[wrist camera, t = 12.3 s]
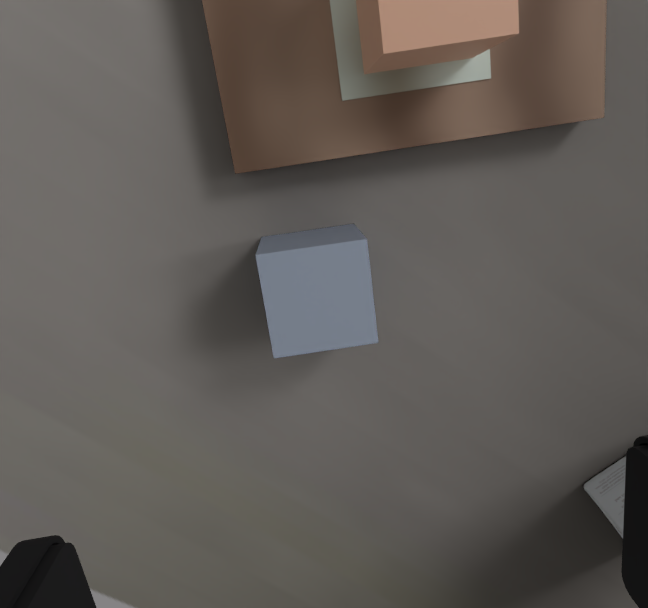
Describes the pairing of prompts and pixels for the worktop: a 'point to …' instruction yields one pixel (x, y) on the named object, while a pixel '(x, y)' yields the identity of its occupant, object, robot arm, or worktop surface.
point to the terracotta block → (431, 30)
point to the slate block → (317, 290)
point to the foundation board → (392, 81)
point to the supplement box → (610, 493)
